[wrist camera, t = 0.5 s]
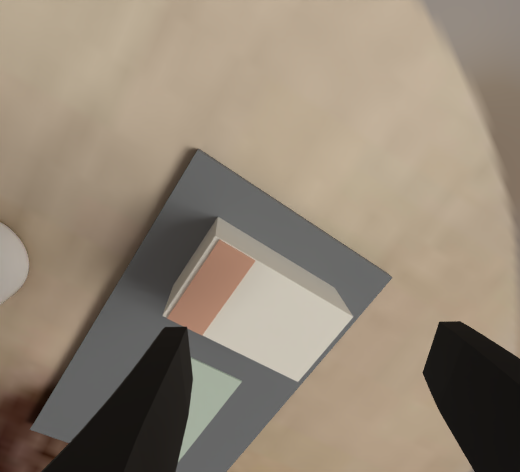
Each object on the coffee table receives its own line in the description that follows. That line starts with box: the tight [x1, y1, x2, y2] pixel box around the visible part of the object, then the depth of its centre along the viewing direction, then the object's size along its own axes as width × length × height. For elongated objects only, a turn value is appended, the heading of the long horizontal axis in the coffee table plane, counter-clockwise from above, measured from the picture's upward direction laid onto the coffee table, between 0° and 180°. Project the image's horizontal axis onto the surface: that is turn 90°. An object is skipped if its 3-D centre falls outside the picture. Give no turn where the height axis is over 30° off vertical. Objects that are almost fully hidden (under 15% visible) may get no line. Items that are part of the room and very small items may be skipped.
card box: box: [162, 217, 353, 382], centre depth 18 cm, size 8×5×3 cm, turn 56°
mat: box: [30, 149, 392, 472], centre depth 21 cm, size 22×14×1 cm, turn 146°
